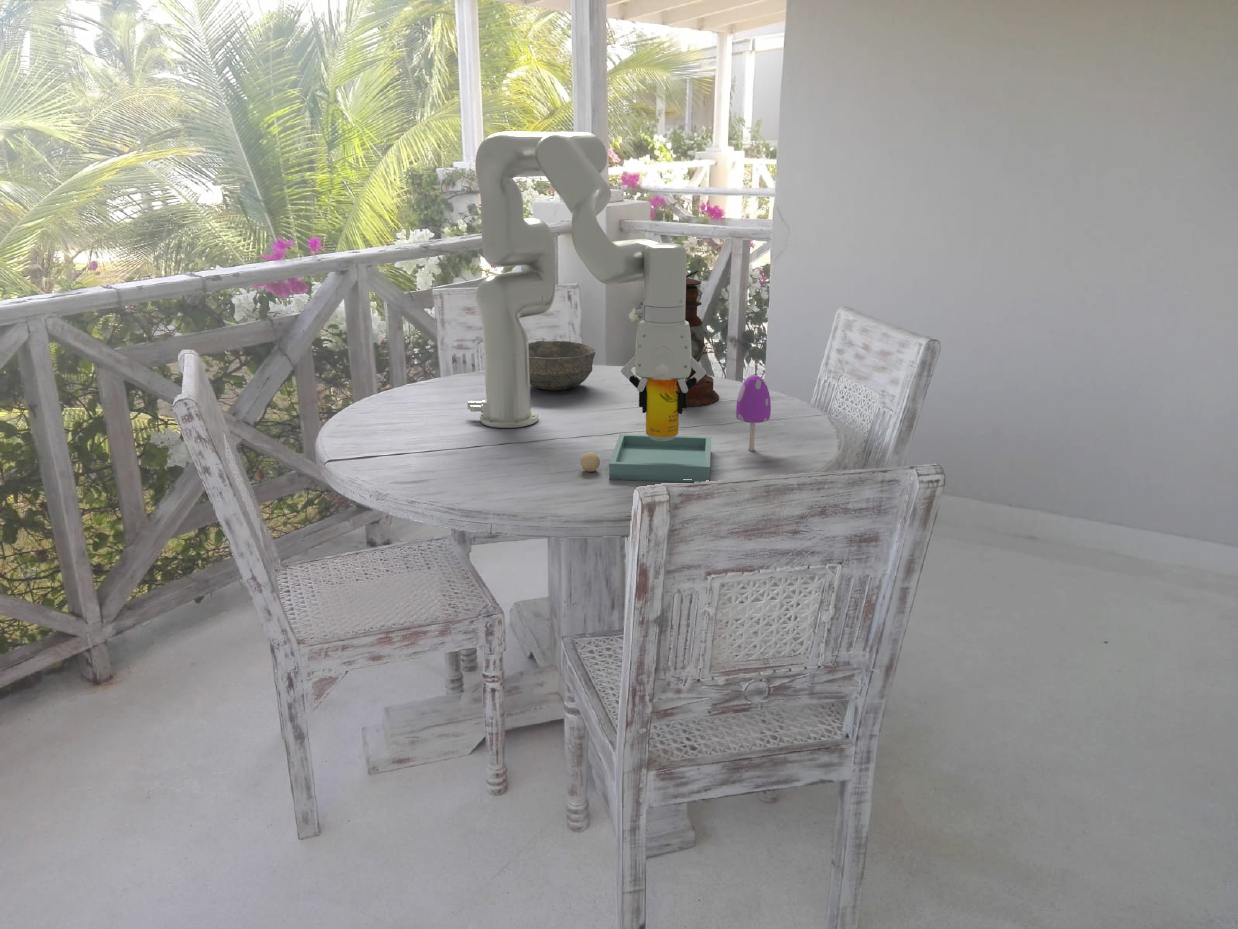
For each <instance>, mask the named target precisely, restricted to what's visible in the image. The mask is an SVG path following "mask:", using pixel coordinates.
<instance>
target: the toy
mask: <svg viewBox="0 0 1238 929" xmlns="http://www.w3.org/2000/svg"><path fill="white" fill-rule="evenodd" d="M770 395H771V394H770V390H769V388H768V385H767V383H766V382H765V380H764V379H763V378H762V377H761V376H759V375H756V374H755V375H754V374H753V375H750V376H748V377H747V378H746V379H744V381H743V383H742V385H741V386H740V389H739V392H738V395H737V399H736V405H735V416H736V419H737V420H738V421H739V422H744V423H749V424H750V427H749V439H748V450H749V451H751V452H752V451H754V450H755V435H756V434H755V433H756V432H755V431H756V430H755V428H756V424H758V423H766V422H768V421H769V420H770V418H771V409H772V405H771V397H770Z"/></svg>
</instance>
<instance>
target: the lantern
mask: <svg viewBox="0 0 1238 929" xmlns="http://www.w3.org/2000/svg"><path fill="white" fill-rule="evenodd" d="M698 272H699V270H696V271H693V272H691V273H689V274H686V304H685V321H687V322H689V327H690V334H691V355H692V357H693V358H694V359H695V360H696V361H697V362H698V363H699V362H700V361H701V358H702V356H703V355H704V354H707V353H708V352H709V350H708V347H707V346H708V344H705V337H706V338H708V336H707V333H706V331H705V328H704V325H703V321H702V319H701V318H700V316H698V307H699V306H700V307H701V305H702V302H701V301H698V300H697V299H698V297H699V296H698V295H699V290H698V285H701V281H700V280H698V279H695V278H690V277H692V276H694V275H696V274H697V273H698ZM704 347H705V349H704ZM699 364H700V363H699ZM695 373H696V371H695V370H694V369H693V368H692V367H691V373H690V375H689V377H687V378H686V380H689V379H690V378H691V377H692V376H693V375H694V374H695ZM679 390H680V385H679ZM719 400H720V395H719V393H718V392H716V391H715V390H714V378H713V377H712V376H710V375H708V374H707V373H706V374H705V375H704V376H703V377H702V378H701V379H700V380H699V381H698V382H696V384H695V385H694V386H693V387H691V388H690V389H689V390H688V392H687V402H686V408H685V409H687V408H688V409H691V408H699V407H704V406H705V407H706V406H709V405H712V404H713V405H714V404H715V403H717V402H718V401H719Z"/></svg>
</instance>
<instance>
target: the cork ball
mask: <svg viewBox="0 0 1238 929" xmlns="http://www.w3.org/2000/svg"><path fill="white" fill-rule="evenodd" d="M600 465H601V458H600V457H599V456H598V455H597V453H595V452H592V451H590V452H586V453H584V454H583V455H582V456H581V458H580V466H581V468H582V469H583V470H584V471H586V472H588V473H590V472H595V471H596V470H598V468H599V467H600Z"/></svg>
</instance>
